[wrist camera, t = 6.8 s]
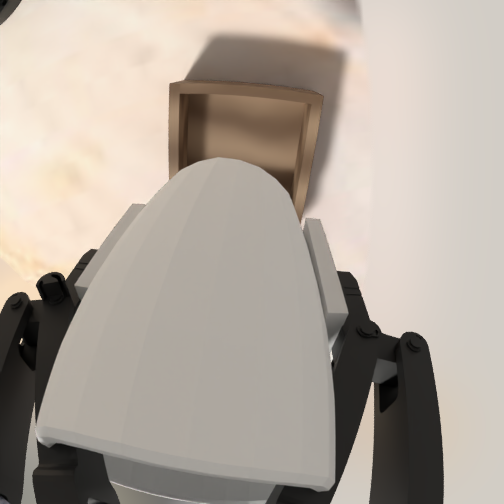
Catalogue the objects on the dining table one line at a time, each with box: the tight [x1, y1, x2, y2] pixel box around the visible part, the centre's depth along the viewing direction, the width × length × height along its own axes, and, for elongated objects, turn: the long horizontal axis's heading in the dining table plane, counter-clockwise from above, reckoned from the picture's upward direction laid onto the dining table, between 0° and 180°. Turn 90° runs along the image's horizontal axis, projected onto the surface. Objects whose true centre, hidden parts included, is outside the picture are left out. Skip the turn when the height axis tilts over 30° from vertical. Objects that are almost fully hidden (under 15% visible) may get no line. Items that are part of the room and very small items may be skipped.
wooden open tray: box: [169, 80, 324, 224], centre depth 31 cm, size 20×14×6 cm
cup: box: [35, 157, 335, 504], centre depth 11 cm, size 8×8×14 cm
